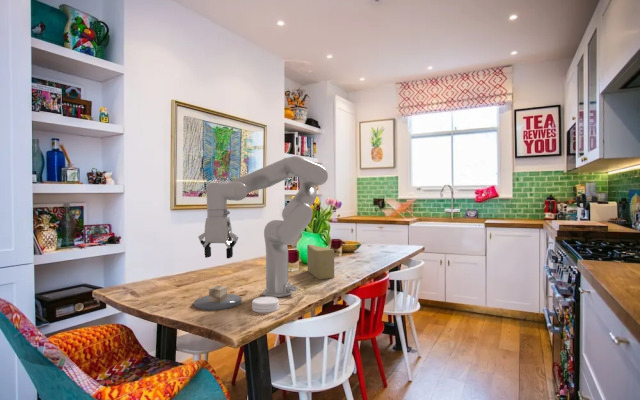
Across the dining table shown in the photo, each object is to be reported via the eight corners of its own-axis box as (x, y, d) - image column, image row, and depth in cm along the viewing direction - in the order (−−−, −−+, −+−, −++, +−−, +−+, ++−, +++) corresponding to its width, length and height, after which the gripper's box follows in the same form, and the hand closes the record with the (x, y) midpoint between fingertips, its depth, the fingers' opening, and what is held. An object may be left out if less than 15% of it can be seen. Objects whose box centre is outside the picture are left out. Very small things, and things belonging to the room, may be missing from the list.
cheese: (300, 271, 200) (300, 244, 200) (316, 270, 204) (316, 243, 204) (317, 280, 180) (317, 250, 180) (335, 278, 184) (334, 248, 184)
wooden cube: (227, 298, 144) (227, 286, 144) (220, 302, 139) (220, 289, 139) (216, 298, 146) (216, 285, 146) (209, 301, 141) (208, 288, 141)
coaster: (280, 304, 141) (279, 295, 141) (277, 313, 131) (277, 303, 131) (254, 305, 140) (254, 296, 140) (250, 313, 130) (249, 304, 130)
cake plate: (249, 298, 149) (249, 295, 149) (225, 312, 131) (225, 309, 131) (211, 295, 154) (211, 292, 154) (184, 308, 137) (183, 305, 137)
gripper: (241, 213, 143) (243, 256, 144) (204, 213, 148) (205, 255, 149) (231, 214, 136) (233, 260, 136) (192, 214, 141) (194, 258, 142)
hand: (218, 257), depth 143 cm, fingers open, 9 cm apart
